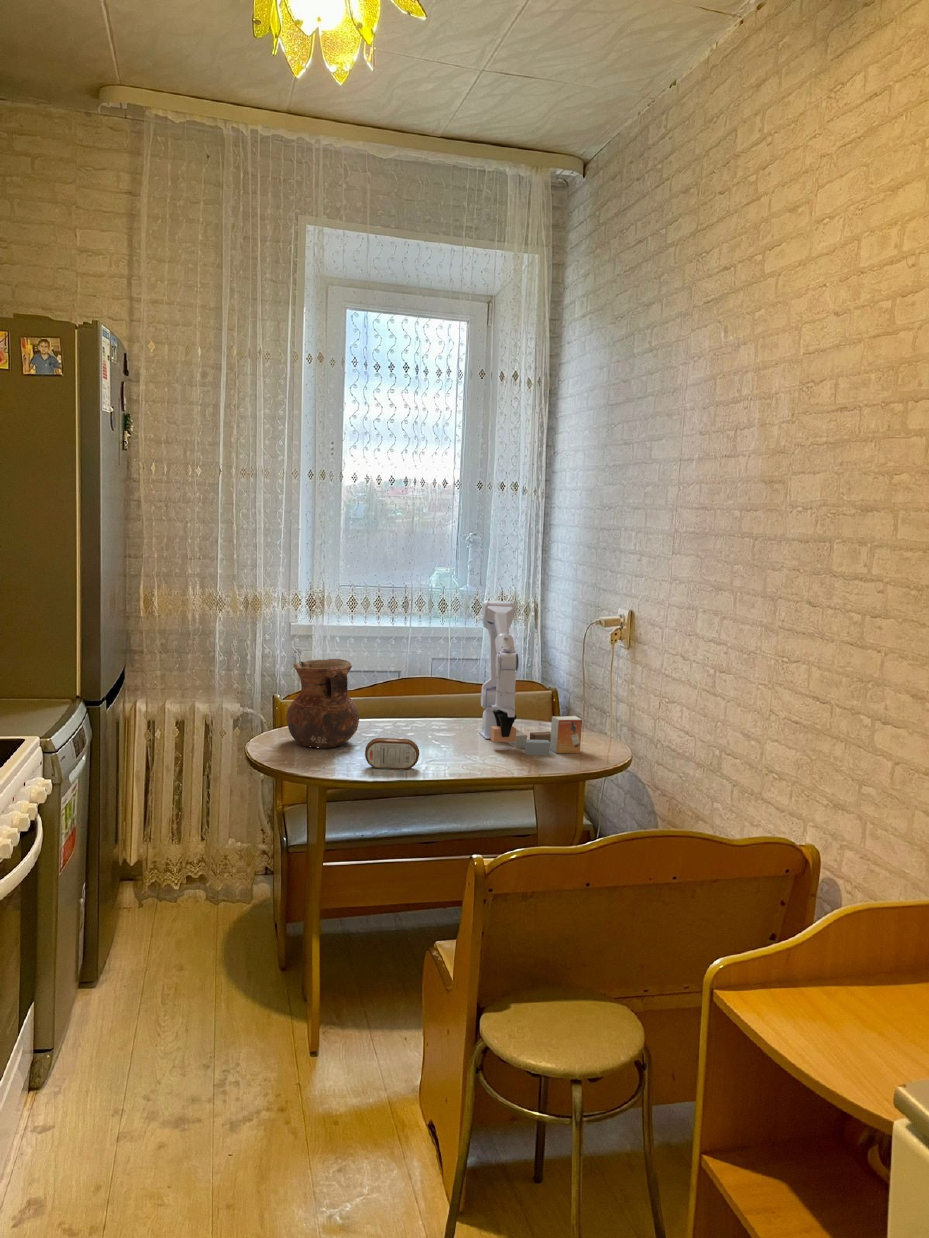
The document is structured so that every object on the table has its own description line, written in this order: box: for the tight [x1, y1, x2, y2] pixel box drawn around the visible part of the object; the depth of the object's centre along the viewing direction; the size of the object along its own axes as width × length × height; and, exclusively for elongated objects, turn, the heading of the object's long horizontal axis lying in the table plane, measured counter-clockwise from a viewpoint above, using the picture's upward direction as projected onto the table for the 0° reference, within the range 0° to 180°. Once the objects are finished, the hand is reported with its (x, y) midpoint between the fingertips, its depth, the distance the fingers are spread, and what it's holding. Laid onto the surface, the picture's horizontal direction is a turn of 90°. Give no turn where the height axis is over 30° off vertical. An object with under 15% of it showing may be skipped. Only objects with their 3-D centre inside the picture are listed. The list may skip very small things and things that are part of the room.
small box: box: [550, 715, 583, 754], centre depth 282 cm, size 8×6×10 cm
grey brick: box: [506, 729, 528, 749], centre depth 287 cm, size 4×7×4 cm, turn 22°
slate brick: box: [524, 739, 551, 756], centre depth 278 cm, size 4×7×4 cm, turn 96°
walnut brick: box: [529, 730, 551, 742], centre depth 288 cm, size 4×7×4 cm, turn 114°
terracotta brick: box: [490, 725, 517, 743], centre depth 281 cm, size 4×7×4 cm, turn 104°
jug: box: [285, 658, 360, 749], centre depth 277 cm, size 22×21×25 cm
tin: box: [364, 737, 420, 771], centre depth 254 cm, size 15×3×8 cm, turn 93°
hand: (503, 735), depth 281 cm, fingers closed on terracotta brick, 3 cm apart
